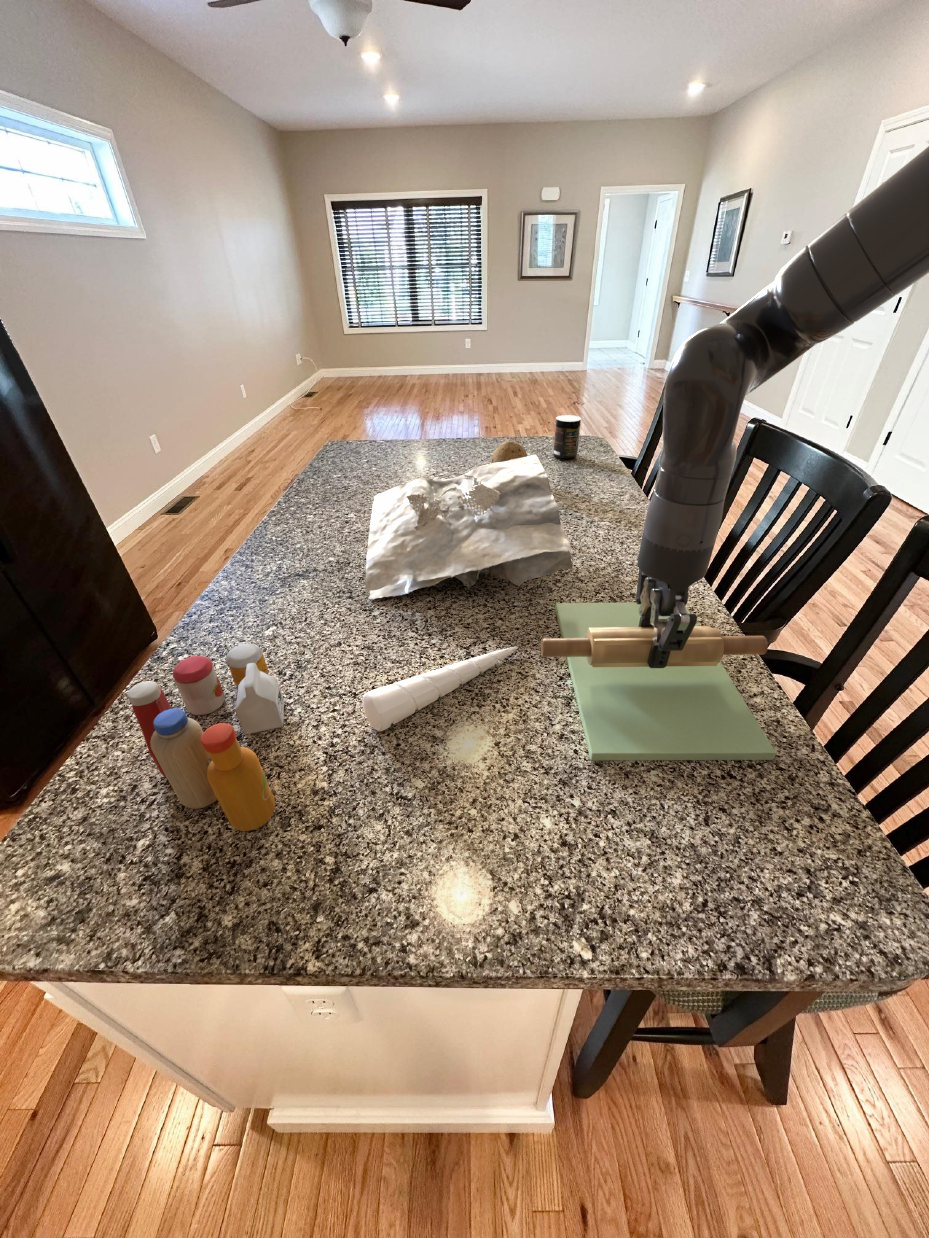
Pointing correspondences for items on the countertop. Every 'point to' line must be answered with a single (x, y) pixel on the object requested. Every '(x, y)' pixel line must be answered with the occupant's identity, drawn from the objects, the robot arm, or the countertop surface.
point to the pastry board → (656, 701)
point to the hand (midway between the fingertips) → (650, 652)
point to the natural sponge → (508, 452)
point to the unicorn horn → (423, 689)
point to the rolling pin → (636, 643)
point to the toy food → (213, 735)
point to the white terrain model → (466, 529)
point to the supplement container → (566, 437)
